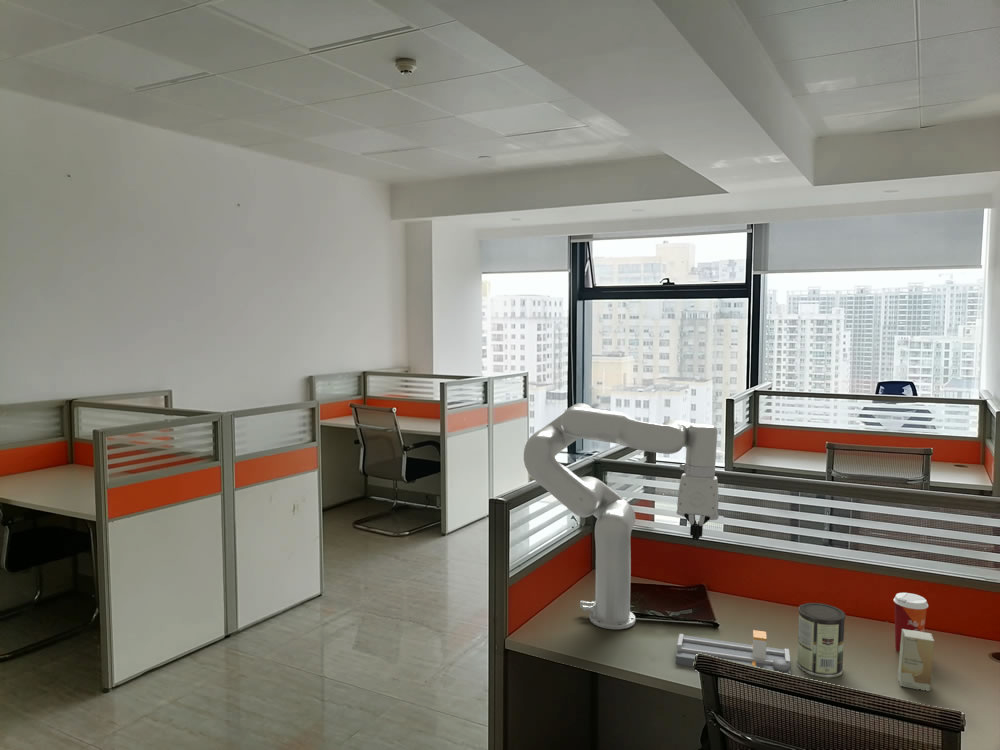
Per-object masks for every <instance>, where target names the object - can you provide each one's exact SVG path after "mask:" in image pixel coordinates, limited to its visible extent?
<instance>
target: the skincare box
mask: <svg viewBox="0 0 1000 750" xmlns="http://www.w3.org/2000/svg"><path fill="white" fill-rule="evenodd" d="M934 646H935V639H934V637H933V634H932V633H929V632H926V631H924V632H920V631H914V630H906V629H902V632H901V644H900V653H899V657H898V670H897V680H898V684H899V686H900V687H902V686H903V687H904V688H909V689H915V690H919V689H921V690H920V691H925V690H926V691H925V692H930V691H931V685H932V683H931V682H932V671H933V658H934V648H935V647H934Z"/></svg>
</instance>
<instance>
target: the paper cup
mask: <svg viewBox="0 0 1000 750" xmlns="http://www.w3.org/2000/svg"><path fill="white" fill-rule="evenodd" d="M893 602H894V636H895V637H894V638H895V639H894V642H895V647H894V648H895V650H896V651H897V653H899V654H900V644H901V632H902V629H906V630H914V631H920V632H925V624H926V618H927V609H928V608H929V604H928V601H927V599H926V598H925V597H923V596H921V595H919V594H916V593H910V592H898V593H896V594H895V596H894V598H893Z"/></svg>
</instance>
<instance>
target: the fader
mask: <svg viewBox="0 0 1000 750" xmlns="http://www.w3.org/2000/svg"><path fill="white" fill-rule="evenodd" d="M752 645H753V651H752V656H753V658H757V659H764V660H766V647H767V631H762V630H755V629H753V630H752Z"/></svg>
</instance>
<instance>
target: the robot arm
mask: <svg viewBox="0 0 1000 750" xmlns="http://www.w3.org/2000/svg"><path fill="white" fill-rule="evenodd" d="M579 439H583V440H591V441H598V442H605V443H611V444H615V445H616V444H617V445H620V446H623V447H626V448H631V449H635V450H639V451H642V452H649V453H655V454H657V453H658V454H663V455H664V454H665V455H673V454H676V453H678V452H680V451H682V449H684V447H685V451H686V452H685V463H682V464H681V463H680V464H679V470H682V471H684V473H682V474H681V475H680V476H681V477H680V481H679V487H678V495H677V503H676V505H677V507H676V508H677V510H676V515H678V516H681V517H684V518H685V519H686V521H688V523H689V525H690V531H689V535H690V536H691V539H692V540H693V541H694V540H696V541H699V540H700V538H702V537H703V531H704V530H703V527H704V525H705V524H706V523H708V522H709V521H717V520H719V517H720V516H719V512H718V511H719V482H718V477H717V476H715V475H716V461H717V460H716V459H717V443H718V429H717V427H716V425H713V424H710V423H705V422H704V423H703V422H702V423H701V422H697V423H695V422H694V423H693V422H688V421H683V420H679V419H668V420H665V421H664V422H663V423H661V424H658V423H652V422H646V421H642V420H641V421H640V420H638V419H634V418H632V417H631V416H629V415H627V414H625V413H624V412H620V411H613V410H607V409H606V410H605V409H599V408H593V407H592V406H591V405H589V404H587V403H582V402H578V403H575V404H573V405H571V406H570V407H568V408H567V409H565V411H564V412H563V413H561V415H560V416H558V417H557V418H555V419H554V420H552V421H550V422H549V423H548V424H546V425H545V426H544V427H542V428H541V429H539V430H537V431H536V432H535V433H532V434H531V436H530V437H529V438H528V439H527V441H526V442H525V445H524V449H523V463H524V466H525V468H526V472H527V473H528V474H529V476H530V477H531V478H532V479H533V480H534V481H535V482H536V483H537V484H538V485H540V487H542V488H544V489H545V490H546V491H547V492H548V493H549V494H551V495H552V497H554V498H555V499H556V500H557V501H558V502H560V503H561V504H562V505H564V507H566V508H567V509H568V510H569V511H571V512H572V513H573V514H574V515H575V516H577V517H580V518H588V517H591V516H594V517H595V518H596V521H595V525H594V541H595V597H594V599H595V600H592V601H588V600H580V602H579V607H580V608H582V611H583V612H590V613H589V621H590V622H591V623H592V624H593V625H595V626H597V627H599V628H602V629H608V630H625V629H629V628H631V627H633V626H634V625H635V624H636V615H635V614H634V613H633V612H632V611H631V579H632V576H631V573H632V571H631V570H632V569H631V567H632V566H631V565H632V564H631V563H632V559H631V558H632V556H631V554H632V551H631V547H632V546H631V536H632V531H633V528H634V525H635V523H636V513H635V510H634V508H633V507H632V505H631V504H630V503H629V502H628V501H627V500H625V499H624V498H623V497H622V496H620V495H619V494H618V493H617V492H616V491H614V490H613V489H612V488H611V487H610V486H608V485H607V484H606V483H605V482H603V481H602V480H600V479H599V478H597V477H594V476H587V475H586V476H582V477H579V476H578V475H577V474H575V472H573V471H572V470H571V469H569V468H568V467H567V466H565V465H563V463H560V462H559V461H558V460H557V459H556V456H557V455H558V454H560V453H561V452H562V451H563V450H565V449H566V448H567V447H569V446H570V445H571V444H573V443H575V442H576V441H577V440H579ZM696 516H699V520H698V521H697V520H696Z"/></svg>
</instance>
